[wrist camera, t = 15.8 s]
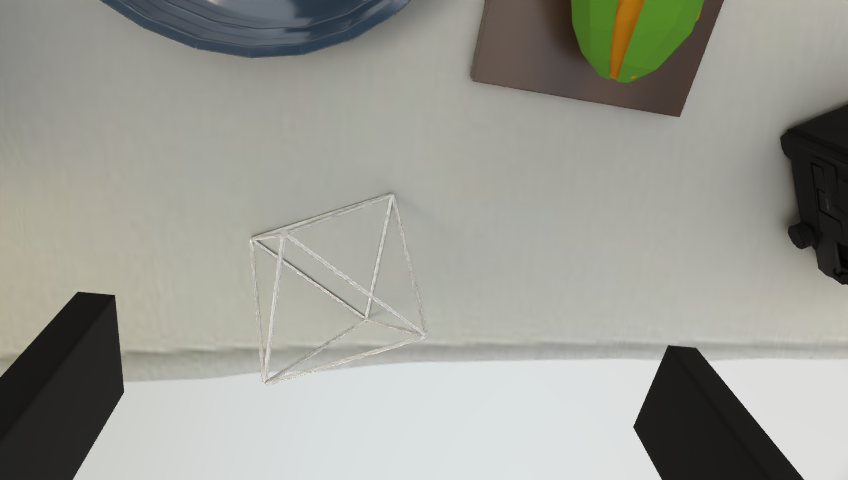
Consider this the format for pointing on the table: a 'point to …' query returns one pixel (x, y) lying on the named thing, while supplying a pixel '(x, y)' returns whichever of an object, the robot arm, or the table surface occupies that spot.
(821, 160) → the camera
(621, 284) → the table surface
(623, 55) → the corn
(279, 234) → the geometric polyhedron
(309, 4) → the bowl
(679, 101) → the walnut board
